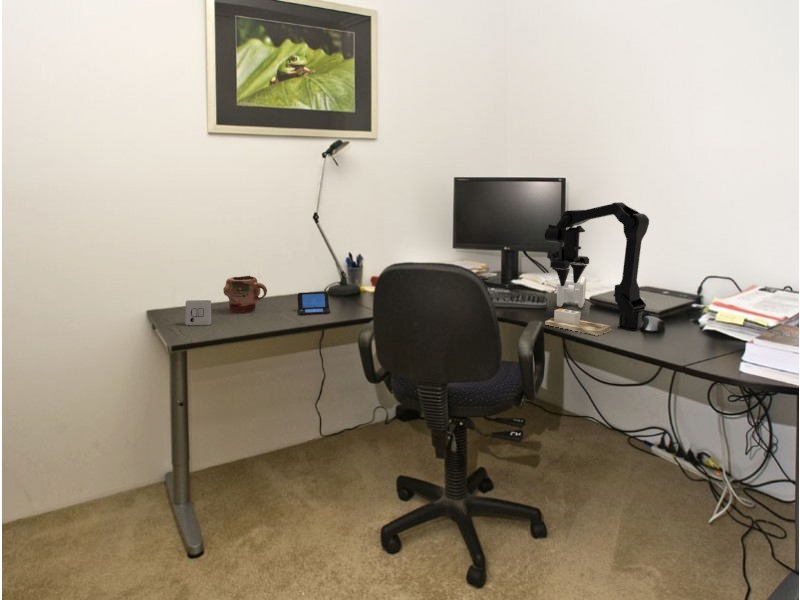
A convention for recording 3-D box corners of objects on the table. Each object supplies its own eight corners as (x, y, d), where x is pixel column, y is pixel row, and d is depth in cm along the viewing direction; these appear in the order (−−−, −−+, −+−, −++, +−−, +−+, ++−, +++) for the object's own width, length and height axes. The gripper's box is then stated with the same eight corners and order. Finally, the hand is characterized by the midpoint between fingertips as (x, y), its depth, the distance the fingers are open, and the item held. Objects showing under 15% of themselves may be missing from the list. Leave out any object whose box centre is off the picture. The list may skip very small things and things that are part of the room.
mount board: (611, 330, 195) (611, 324, 194) (597, 336, 188) (597, 330, 188) (560, 320, 209) (560, 315, 208) (545, 325, 202) (545, 320, 202)
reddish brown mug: (275, 308, 233) (273, 275, 231) (262, 315, 222) (260, 280, 219) (232, 306, 238) (229, 274, 235) (216, 313, 226) (214, 279, 223)
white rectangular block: (579, 325, 200) (580, 311, 199) (573, 327, 197) (574, 313, 196) (559, 321, 206) (560, 307, 205) (553, 323, 203) (554, 309, 202)
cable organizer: (582, 310, 225) (584, 281, 223) (555, 308, 229) (556, 280, 227) (585, 302, 239) (586, 276, 237) (559, 301, 243) (560, 274, 240)
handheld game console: (298, 316, 221) (297, 297, 219) (298, 310, 231) (297, 292, 230) (330, 314, 223) (330, 296, 222) (328, 308, 234) (327, 291, 232)
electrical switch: (184, 326, 207) (183, 301, 206) (190, 324, 212) (188, 299, 211) (210, 325, 207) (209, 300, 206) (214, 323, 212) (213, 299, 211)
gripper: (565, 240, 224) (563, 279, 227) (538, 244, 212) (537, 285, 215) (591, 242, 216) (588, 282, 219) (565, 246, 204) (562, 288, 207)
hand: (568, 284), depth 215 cm, fingers open, 9 cm apart
